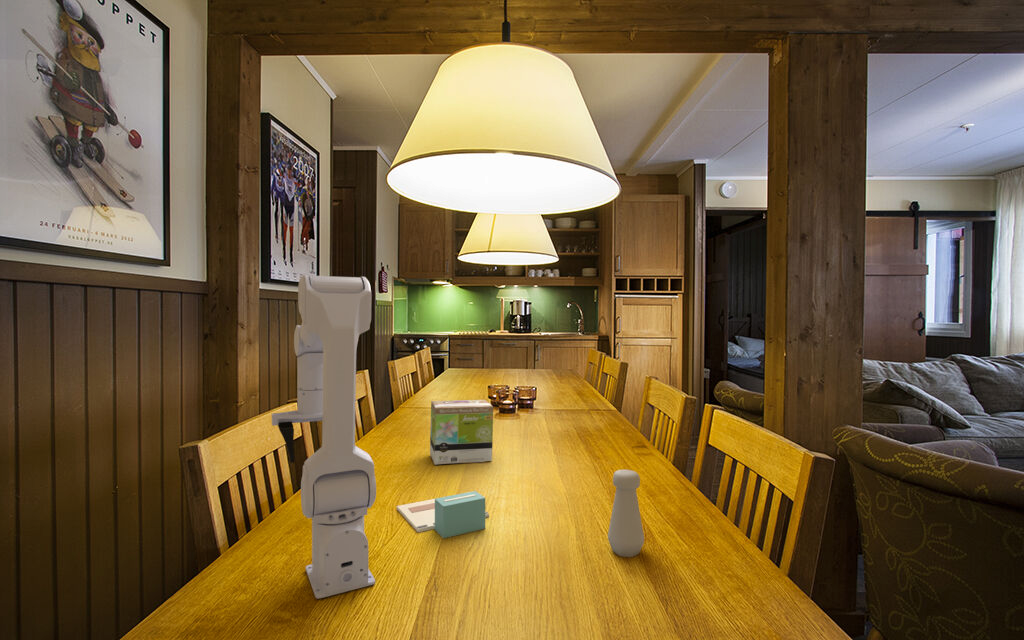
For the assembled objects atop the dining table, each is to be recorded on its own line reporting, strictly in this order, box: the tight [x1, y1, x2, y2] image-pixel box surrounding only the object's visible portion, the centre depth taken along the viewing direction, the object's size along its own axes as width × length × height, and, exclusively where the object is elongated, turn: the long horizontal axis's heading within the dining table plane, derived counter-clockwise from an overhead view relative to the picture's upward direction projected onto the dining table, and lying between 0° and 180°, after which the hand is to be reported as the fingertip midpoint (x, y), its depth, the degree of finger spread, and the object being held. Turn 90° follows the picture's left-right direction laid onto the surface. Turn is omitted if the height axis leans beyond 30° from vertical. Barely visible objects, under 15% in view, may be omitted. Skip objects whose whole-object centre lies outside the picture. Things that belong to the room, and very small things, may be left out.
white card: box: [396, 498, 490, 533], centre depth 98 cm, size 12×14×1 cm
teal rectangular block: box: [434, 490, 486, 539], centre depth 91 cm, size 4×8×6 cm, turn 120°
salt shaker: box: [607, 469, 645, 558], centre depth 83 cm, size 6×6×13 cm
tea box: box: [429, 399, 494, 466], centre depth 134 cm, size 15×10×15 cm, turn 105°
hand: (313, 458), depth 99 cm, fingers open, 7 cm apart
